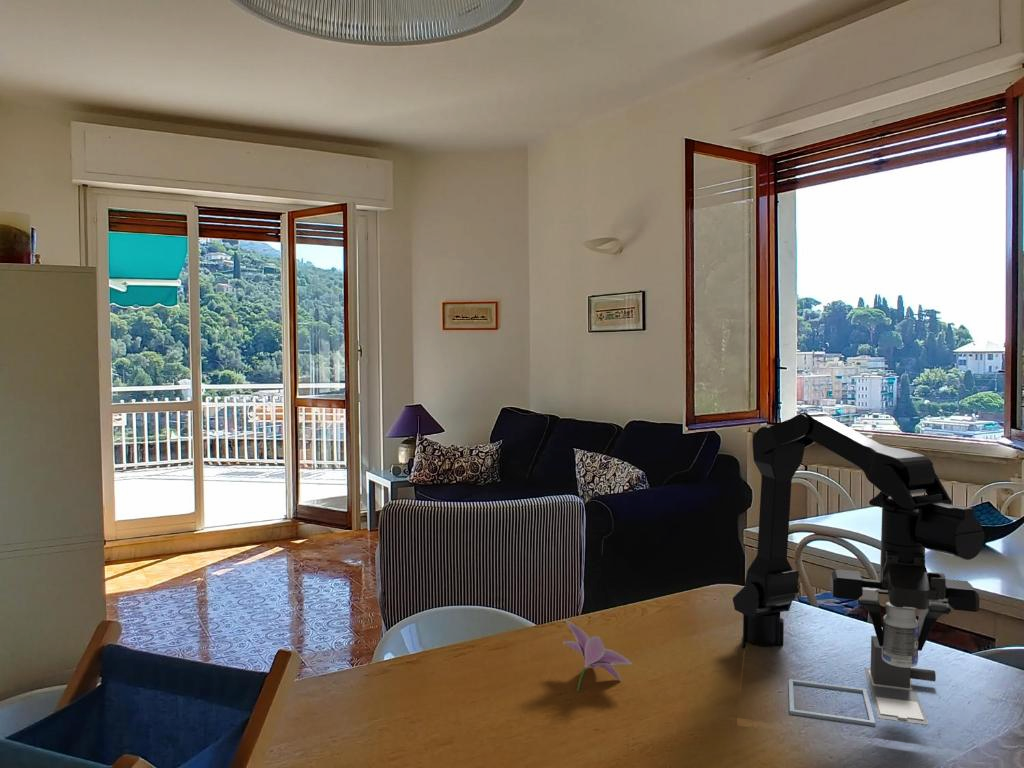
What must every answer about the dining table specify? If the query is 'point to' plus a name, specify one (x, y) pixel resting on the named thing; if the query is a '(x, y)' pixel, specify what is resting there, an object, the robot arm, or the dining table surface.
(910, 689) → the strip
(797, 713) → the grey square frame
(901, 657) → the pill bottle
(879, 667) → the grey block with peg
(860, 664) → the dining table surface
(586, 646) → the lily
